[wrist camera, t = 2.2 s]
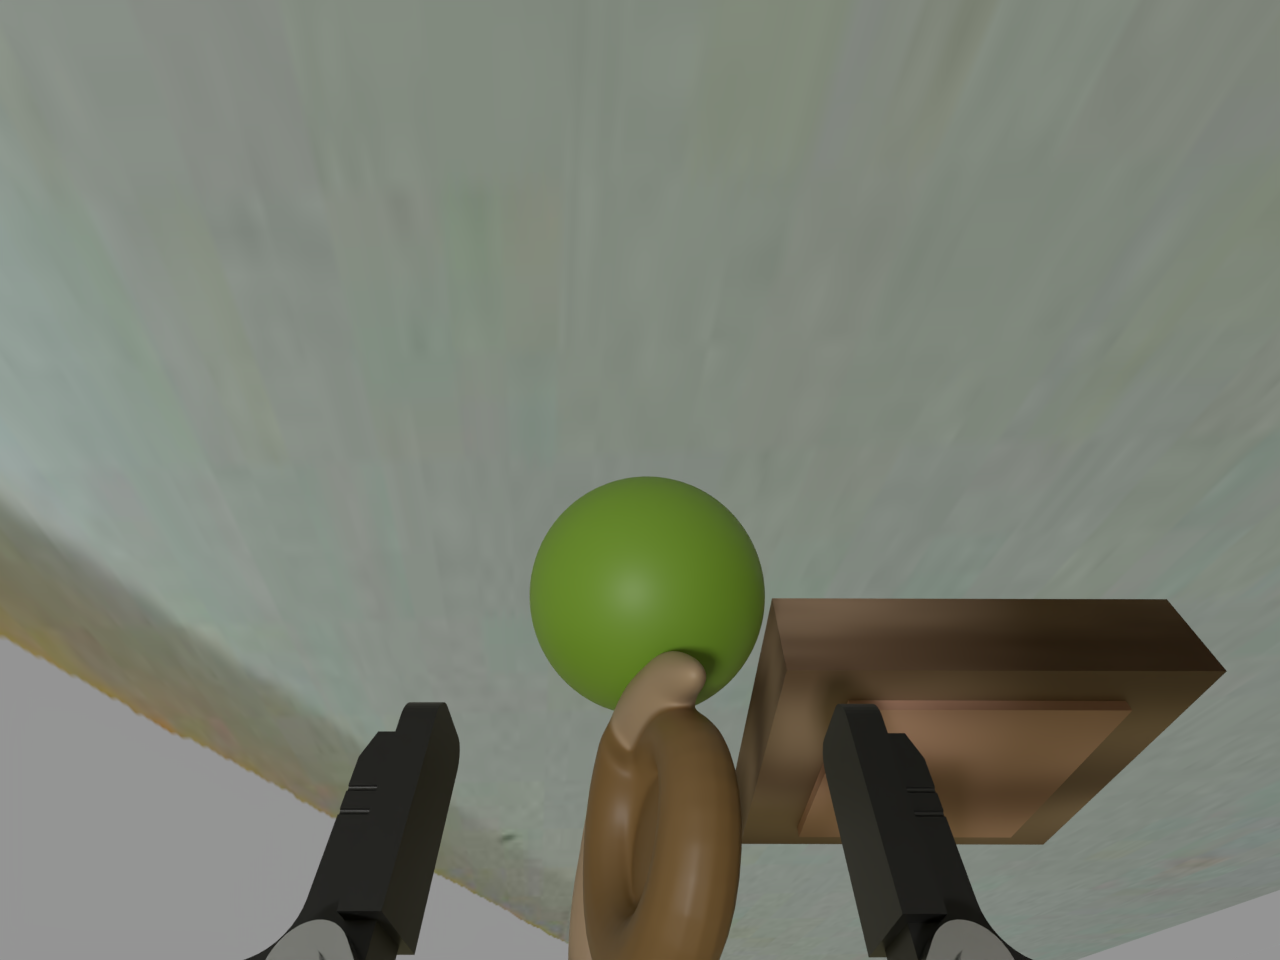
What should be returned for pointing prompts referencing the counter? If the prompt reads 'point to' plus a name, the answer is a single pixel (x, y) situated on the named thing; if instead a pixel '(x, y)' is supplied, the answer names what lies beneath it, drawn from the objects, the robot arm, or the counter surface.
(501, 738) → the counter surface
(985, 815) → the display plinth
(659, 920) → the snail figurine
